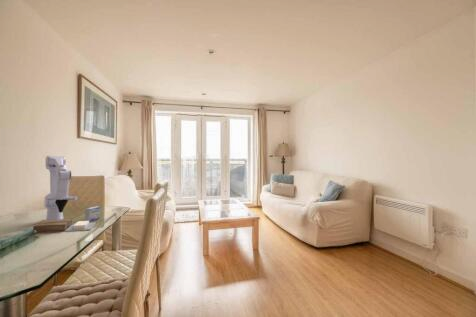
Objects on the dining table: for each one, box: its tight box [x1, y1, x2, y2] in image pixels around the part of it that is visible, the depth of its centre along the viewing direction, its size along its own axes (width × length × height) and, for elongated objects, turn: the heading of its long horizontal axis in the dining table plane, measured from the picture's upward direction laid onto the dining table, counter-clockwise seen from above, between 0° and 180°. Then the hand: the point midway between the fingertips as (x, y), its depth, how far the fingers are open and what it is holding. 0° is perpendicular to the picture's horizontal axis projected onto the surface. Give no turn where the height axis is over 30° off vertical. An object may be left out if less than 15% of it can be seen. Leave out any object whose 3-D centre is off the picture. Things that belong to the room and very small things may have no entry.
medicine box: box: [84, 205, 101, 222], centre depth 143 cm, size 8×4×9 cm, turn 168°
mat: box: [64, 221, 97, 233], centre depth 127 cm, size 14×12×1 cm
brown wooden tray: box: [32, 218, 73, 234], centre depth 121 cm, size 12×14×4 cm
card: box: [73, 220, 90, 229], centre depth 127 cm, size 9×6×2 cm, turn 24°
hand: (60, 211), depth 125 cm, fingers closed
